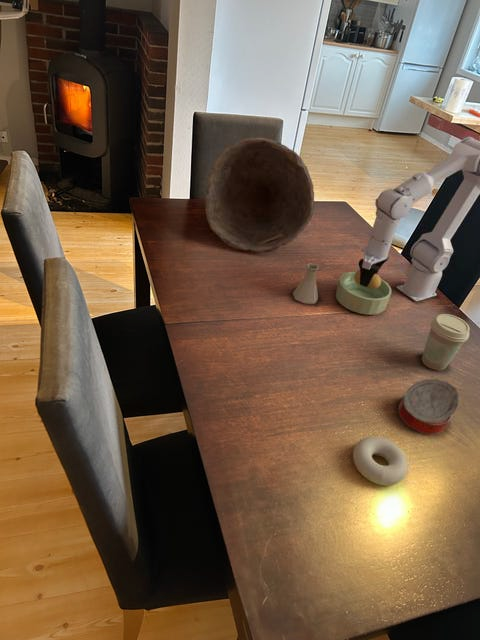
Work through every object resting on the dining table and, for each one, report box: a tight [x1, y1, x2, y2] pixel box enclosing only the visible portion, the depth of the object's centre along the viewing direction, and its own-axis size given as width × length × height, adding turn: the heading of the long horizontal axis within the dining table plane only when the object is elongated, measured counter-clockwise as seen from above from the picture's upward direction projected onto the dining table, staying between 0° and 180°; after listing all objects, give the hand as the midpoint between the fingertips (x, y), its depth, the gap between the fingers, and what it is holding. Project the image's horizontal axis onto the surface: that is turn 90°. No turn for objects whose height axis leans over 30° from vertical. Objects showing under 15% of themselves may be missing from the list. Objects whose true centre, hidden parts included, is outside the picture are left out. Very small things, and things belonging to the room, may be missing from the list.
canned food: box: [397, 378, 459, 435], centre depth 97 cm, size 11×10×10 cm
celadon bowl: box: [335, 271, 393, 316], centre depth 131 cm, size 14×14×6 cm
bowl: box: [204, 137, 315, 253], centre depth 156 cm, size 34×35×30 cm
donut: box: [352, 435, 409, 487], centre depth 86 cm, size 10×4×10 cm
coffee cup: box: [421, 313, 471, 372], centre depth 111 cm, size 8×8×12 cm
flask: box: [292, 262, 320, 305], centre depth 128 cm, size 7×7×10 cm
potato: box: [354, 269, 382, 290], centre depth 128 cm, size 7×4×4 cm, turn 58°
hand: (366, 281), depth 129 cm, fingers closed on potato, 4 cm apart
